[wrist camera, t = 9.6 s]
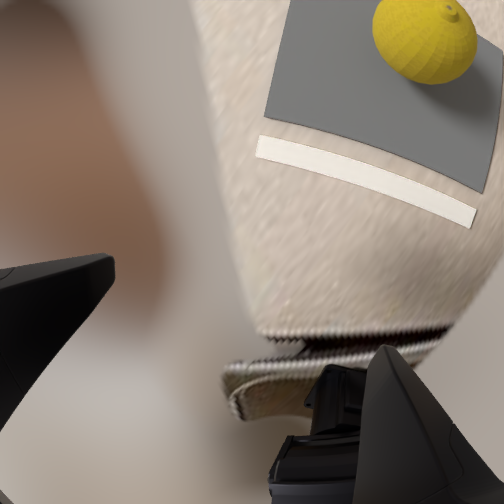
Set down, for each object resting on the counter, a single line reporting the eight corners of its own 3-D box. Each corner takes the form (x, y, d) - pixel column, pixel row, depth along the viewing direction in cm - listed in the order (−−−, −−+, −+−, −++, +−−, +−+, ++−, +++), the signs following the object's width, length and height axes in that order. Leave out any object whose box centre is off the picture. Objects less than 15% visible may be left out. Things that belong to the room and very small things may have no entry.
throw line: (467, 227, 16) (469, 228, 15) (256, 156, 18) (255, 156, 18) (474, 208, 15) (476, 209, 15) (261, 134, 17) (259, 134, 17)
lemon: (425, 20, 11) (468, -32, 3) (452, 92, 12) (518, 72, 5) (352, 23, 12) (363, -42, 5) (379, 97, 14) (417, 66, 7)
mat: (479, 192, 14) (481, 193, 14) (265, 116, 17) (263, 116, 16) (500, 52, 9) (502, 50, 9) (298, -25, 12) (297, -27, 11)
